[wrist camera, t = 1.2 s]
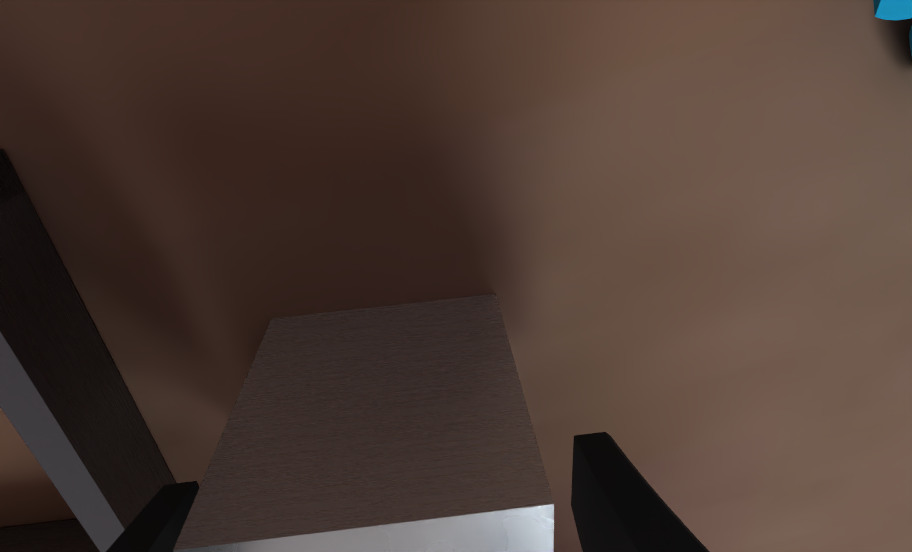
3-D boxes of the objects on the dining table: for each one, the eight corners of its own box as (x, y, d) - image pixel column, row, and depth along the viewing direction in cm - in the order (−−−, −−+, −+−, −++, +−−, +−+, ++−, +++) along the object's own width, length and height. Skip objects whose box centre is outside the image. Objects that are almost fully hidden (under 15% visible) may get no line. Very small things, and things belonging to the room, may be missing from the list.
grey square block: (503, 449, 14) (555, 706, 9) (319, 471, 14) (267, 745, 9) (495, 292, 12) (559, 524, 7) (272, 317, 12) (162, 573, 6)
